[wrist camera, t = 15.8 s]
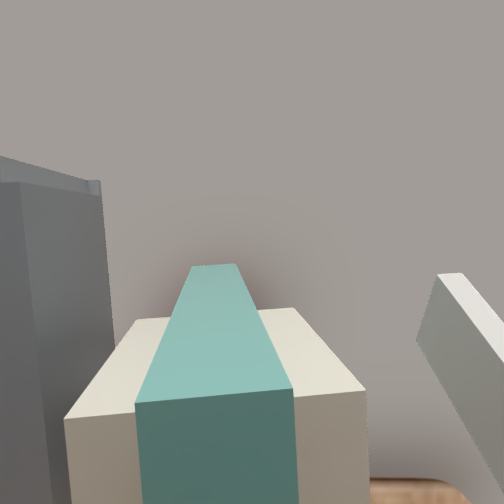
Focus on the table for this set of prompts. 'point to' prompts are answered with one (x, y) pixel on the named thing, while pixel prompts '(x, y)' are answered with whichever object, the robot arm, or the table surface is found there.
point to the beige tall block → (305, 409)
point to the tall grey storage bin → (47, 322)
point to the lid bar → (216, 403)
